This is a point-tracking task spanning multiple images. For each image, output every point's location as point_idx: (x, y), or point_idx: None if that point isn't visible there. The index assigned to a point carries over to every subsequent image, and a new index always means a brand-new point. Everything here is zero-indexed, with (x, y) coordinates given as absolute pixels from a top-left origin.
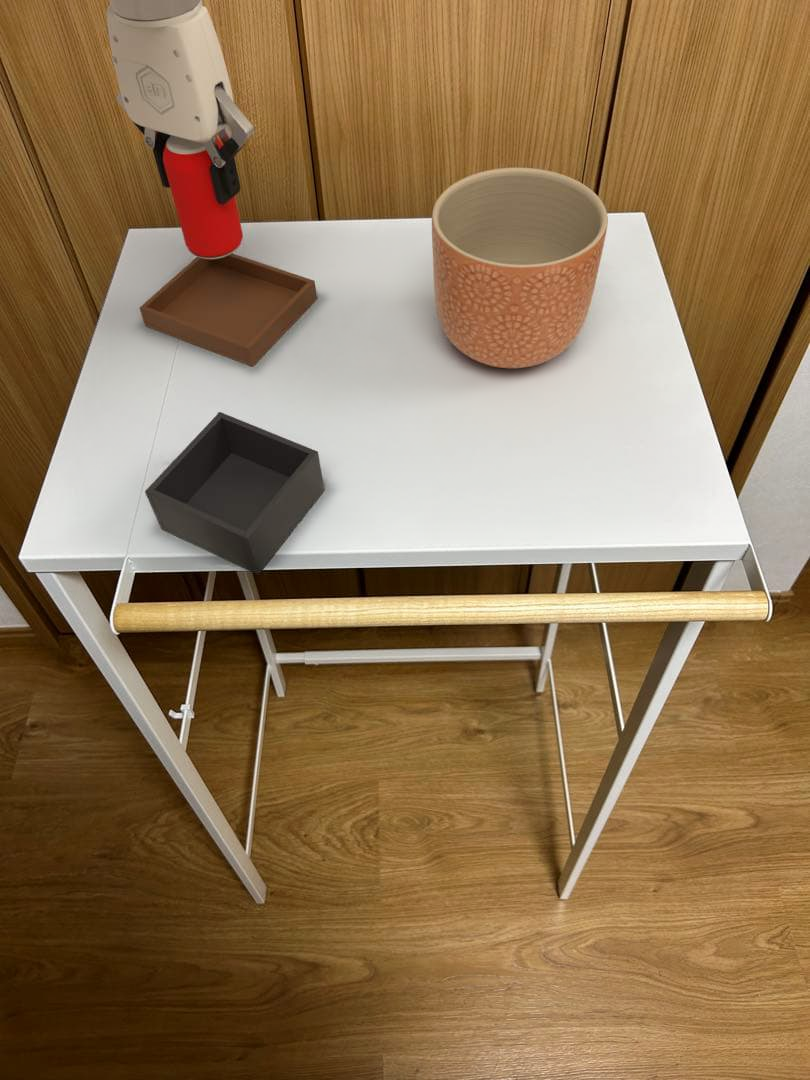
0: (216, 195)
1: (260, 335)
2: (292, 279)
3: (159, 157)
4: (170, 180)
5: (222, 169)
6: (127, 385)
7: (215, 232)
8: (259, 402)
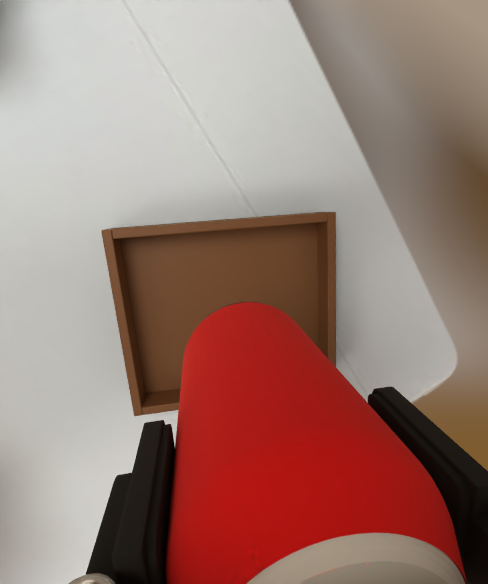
0: (156, 438)
1: (109, 267)
2: (172, 400)
3: (449, 466)
4: (336, 395)
5: (106, 568)
6: (253, 84)
7: (194, 354)
8: (40, 167)
